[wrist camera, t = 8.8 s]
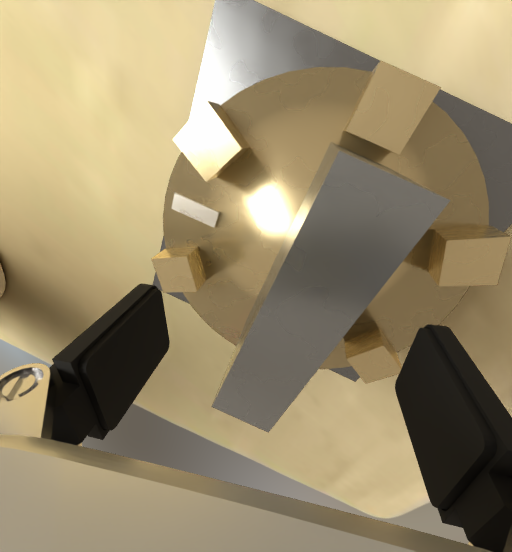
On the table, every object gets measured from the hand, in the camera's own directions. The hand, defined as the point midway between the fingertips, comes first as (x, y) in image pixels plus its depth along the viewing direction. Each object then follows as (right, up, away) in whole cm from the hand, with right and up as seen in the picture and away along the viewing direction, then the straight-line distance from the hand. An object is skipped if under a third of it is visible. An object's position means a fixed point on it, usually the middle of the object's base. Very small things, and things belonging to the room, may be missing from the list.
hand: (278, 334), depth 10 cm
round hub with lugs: (+3, +5, +8) cm, 10 cm away
